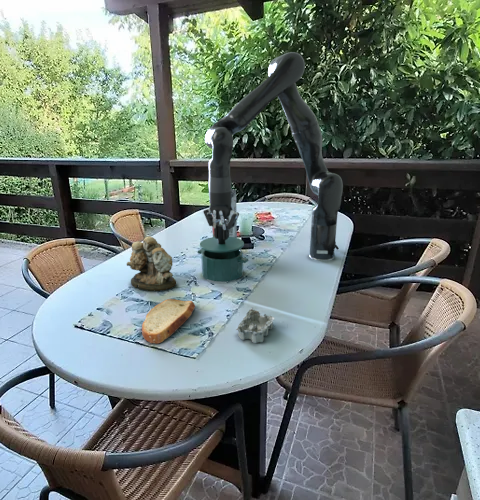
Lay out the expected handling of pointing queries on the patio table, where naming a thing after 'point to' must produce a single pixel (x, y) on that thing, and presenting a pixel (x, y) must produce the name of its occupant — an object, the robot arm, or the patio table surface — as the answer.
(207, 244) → the lid
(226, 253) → the pot
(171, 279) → the owl figurine
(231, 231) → the juice carton
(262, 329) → the egg carton
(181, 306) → the bread slice
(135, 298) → the patio table surface
